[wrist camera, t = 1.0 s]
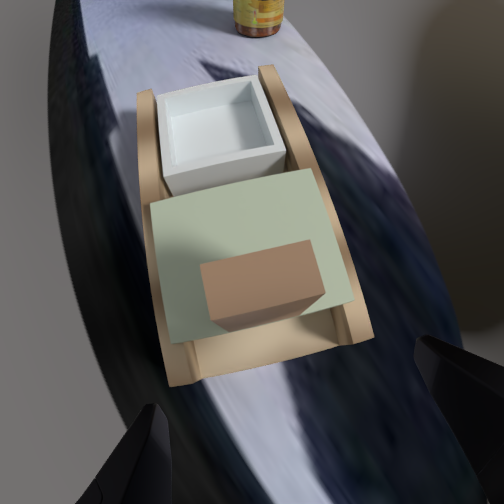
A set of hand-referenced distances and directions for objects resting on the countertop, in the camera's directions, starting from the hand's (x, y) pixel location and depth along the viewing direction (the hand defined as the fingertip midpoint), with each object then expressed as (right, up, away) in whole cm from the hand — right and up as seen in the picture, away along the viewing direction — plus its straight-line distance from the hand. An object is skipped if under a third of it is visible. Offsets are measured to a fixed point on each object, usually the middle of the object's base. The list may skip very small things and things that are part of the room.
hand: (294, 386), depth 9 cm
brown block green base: (-2, +4, +10) cm, 11 cm away
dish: (-4, +14, +17) cm, 22 cm away
